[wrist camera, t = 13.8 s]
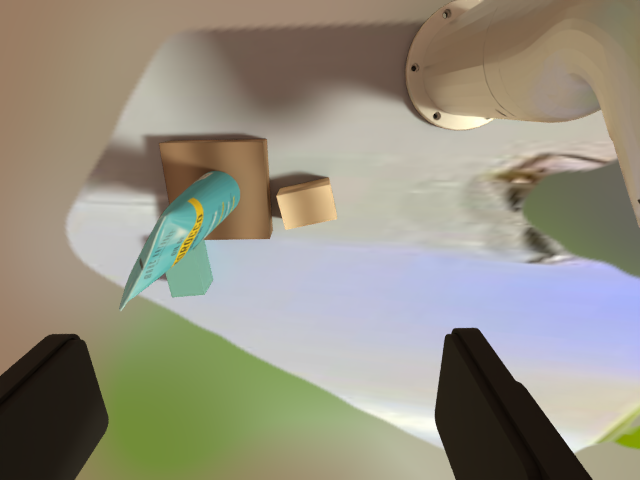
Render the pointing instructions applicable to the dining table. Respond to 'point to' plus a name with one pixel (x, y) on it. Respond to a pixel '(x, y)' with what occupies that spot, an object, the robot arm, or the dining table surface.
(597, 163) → the dining table surface
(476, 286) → the dining table surface
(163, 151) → the plinth
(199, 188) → the tube
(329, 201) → the beech block
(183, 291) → the teal block
